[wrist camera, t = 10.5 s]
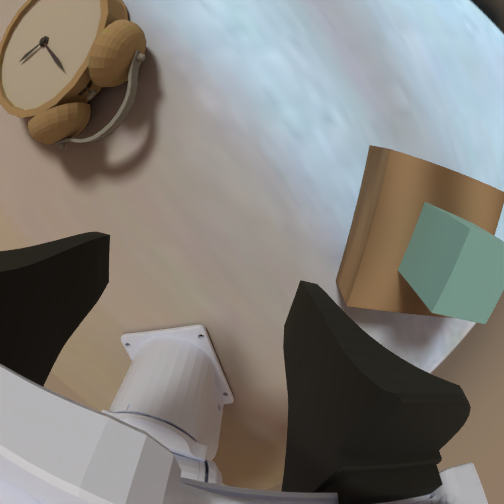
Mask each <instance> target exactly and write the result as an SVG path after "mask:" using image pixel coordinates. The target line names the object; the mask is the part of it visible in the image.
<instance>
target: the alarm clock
mask: <svg viewBox="0 0 504 504" xmlns="http://www.w3.org/2000/svg"><path fill="white" fill-rule="evenodd" d="M145 51H146V39H145V35H144V32H143V31H142V29H141V28H140V27H139V26H138V25H137V24H135V23H133V22H131V21H128V13H127V7H126V6H125V4H124V3H123V1H122V0H28V1H27V2H26V3H25V4H24V5H23V6H22V7H21V8H20V9H19V11H18V12H17V14H16V15H15V17H14V18H13V20H12V21H11V23H10V24H9V26H8V27H7V29H6V32H5V34H4V36H3V39H2V41H1V43H0V104H1V105H2V106H3V107H4V109H5V110H6V111H7V112H8V113H9V114H12V115H15V116H17V117H20V118H27V117H33V118H32V119H31V120H30V121H29V122H28V129H29V132H30V135H31V136H32V138H33V139H35V140H36V141H38V142H40V143H43V144H54V145H58V148H59V150H63V149H64V148H65V143H67V142H70V141H72V142H78V143H82V142H95V141H98V140H101V139H103V138H104V137H106V136H108V135H109V134H111V133H112V132H113V131H114V130H115V129H116V128H118V127H119V126H120V124H121V123H122V122H123V121H124V119H125V118H126V117H127V115H128V113H129V112H130V110H131V108H132V106H133V104H134V101H135V98H136V94H137V88H138V72H139V67H140V65H141V63H142V61H144V60H145V59H146V56H145ZM127 80H128V87H127V92H126V95H125V98H124V101H123V103H122V105H121V107H120V108H119V110H118V112H117V114H116V115H115V116H114V118H113V119H112V120H111V122H110V123H109V124H108V125H106V126H105V127H104V128H103V129H102V130H101V131H99V132H98V133H96V134H95V135H93V136H91V137H88V138H85V139H81V138H73V137H75V136H76V135H78V134H79V133H80V132H81V131H83V130H84V128H85V127H86V125H87V124H88V122H89V119H90V116H91V107H90V105H89V104H87V102H88V101H89V100H91V99H92V98H93V97H94V96H95V95H96V94H97V93H98V92H99V91H100V90H101V88H102V87H115V86H118V85H120V84H122V83H124V82H126V81H127Z"/></svg>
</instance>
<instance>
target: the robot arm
mask: <svg viewBox="0 0 504 504" xmlns="http://www.w3.org/2000/svg"><path fill="white" fill-rule="evenodd" d="M109 245H110V235H108V234H104V233H100V232H88V233H83V234H79V235H75V236H71V237H67V238H63V239H60V240H56V241H52V242H48V243H44V244H39V245H35V246H31V247H26V248H21V249H15V250H8V251H0V504H488V502H487V499H486V496H485V493H484V491H483V488H482V485H481V482H480V480H479V477H478V474H477V472H476V469H475V467H474V464H473V463H467V464H463V465H459V466H454V467H450V468H447V469H445V470H442V471H441V472H439V471H438V468H437V465H436V464H438V463H439V462H440V461H441V459H442V458H441V455H440V452H439V450H440V449H441V448H442V447H443V446H444V445H445V444H446V443H447V442H448V441H449V440H450V439H451V438H452V437H453V436H454V435H455V434H456V433H457V432H458V431H459V430H460V429H461V427H462V426H463V425H464V423H465V422H466V420H467V418H468V416H469V413H470V408H471V407H470V404H469V402H468V400H467V398H466V396H465V394H464V392H463V390H462V389H461V387H460V386H459V385H456V384H454V383H451V382H449V381H446V380H444V379H441V378H439V377H436V376H434V375H431V374H429V373H427V372H425V371H423V370H421V369H419V368H417V367H415V366H414V365H412V364H410V363H408V362H406V361H405V360H403V359H402V358H400V357H398V356H397V355H395V354H394V353H392V352H391V351H389V350H388V349H386V348H385V347H383V346H382V345H381V344H379V343H378V342H377V341H376V340H374V339H373V338H372V337H370V336H369V335H368V334H367V333H366V332H364V331H363V330H362V329H361V328H360V327H359V326H358V325H357V324H356V323H355V322H354V321H353V320H352V319H351V318H350V317H348V316H347V315H346V313H345V312H344V311H343V310H342V309H341V308H340V307H339V306H338V305H337V304H336V303H335V302H334V301H333V300H332V299H331V298H330V297H329V296H328V294H327V293H326V292H325V291H324V290H323V289H322V288H321V287H320V286H318V285H317V284H314V283H310V282H305V281H301V280H300V283H299V286H298V289H297V292H296V295H295V298H294V300H293V303H292V306H291V309H290V311H289V314H288V317H287V320H286V322H285V325H284V345H283V349H284V360H285V370H286V380H287V390H288V432H287V447H286V458H285V468H284V477H283V485H282V491H281V492H279V491H267V490H256V489H247V488H239V487H232V486H226V485H222V474H221V472H220V470H219V469H218V467H217V465H216V463H215V462H214V461H212V460H213V459H214V457H215V455H216V453H217V450H218V444H219V437H220V430H221V422H222V415H223V408H224V404H231V403H233V402H234V397H233V394H232V392H231V390H230V387H229V385H228V383H227V380H226V378H225V375H224V373H223V371H222V368H221V366H220V363H219V361H218V358H217V356H216V353H215V351H214V348H213V346H212V343H211V341H210V338H209V336H208V333H207V330H206V328H205V327H204V326H203V325H192V326H185V327H178V328H170V329H163V330H155V331H147V332H138V333H129V334H123V335H122V337H121V341H122V343H123V345H124V347H125V349H126V351H127V352H128V354H129V356H130V358H131V360H132V363H131V365H130V367H129V369H128V371H127V373H126V376H125V378H124V380H123V382H122V384H121V386H120V388H119V390H118V392H117V394H116V396H115V398H114V400H113V403H112V405H111V407H110V409H109V411H106V410H102V411H101V412H100V411H97V410H95V409H92V408H90V407H87V406H85V405H82V404H80V403H77V402H75V401H73V400H71V399H68V398H66V397H64V396H62V395H59V394H57V393H55V392H53V391H51V390H49V389H47V388H45V387H43V386H44V383H45V381H46V379H47V377H48V375H49V373H50V371H51V369H52V367H53V365H54V363H55V361H56V359H57V357H58V355H59V353H60V352H61V350H62V348H63V346H64V345H65V343H66V342H67V340H68V339H69V337H70V336H71V335H72V334H73V332H74V331H75V330H76V328H77V327H78V326H79V324H80V323H81V322H82V321H83V319H84V318H85V317H86V316H87V314H88V313H89V312H90V310H91V309H92V308H93V307H94V305H95V304H96V303H97V301H98V300H99V298H100V296H101V295H102V293H103V291H104V290H105V288H106V286H107V284H108V282H109ZM200 335H203V336H204V337H201V336H200ZM128 343H129V344H130V345H129V344H128ZM225 392H226V393H225Z"/></svg>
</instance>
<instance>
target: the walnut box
mask: <svg viewBox="0 0 504 504" xmlns="http://www.w3.org/2000/svg"><path fill="white" fill-rule="evenodd" d="M425 202H426V203H429V204H431V205H433V206H436V207H438V208H440V209H443V210H445V211H447V212H450V213H452V214H454V215H456V216H458V217H461V218H463V219H465V220H467V221H469V222H472V223H474V224H476V225H477V226H479V227H481V228H482V229H484V230H486V231H487V232H489V233H491V234H492V235H494V234H495V231H496V228H497V225H498V221H499V218H500V214H501V211H502V207H503V203H504V192H503V191H501V190H498V189H496V188H494V187H492V186H489V185H487V184H485V183H482V182H480V181H478V180H475V179H473V178H470V177H468V176H466V175H463V174H460V173H458V172H455V171H453V170H450V169H447V168H445V167H442V166H439V165H436V164H434V163H431V162H428V161H425V160H422V159H419V158H416V157H413V156H410V155H407V154H404V153H401V152H397V151H394V150H391V149H386V148H381V147H376V146H371V145H370V147H369V152H368V156H367V161H366V166H365V171H364V175H363V180H362V184H361V188H360V193H359V197H358V201H357V205H356V209H355V213H354V217H353V221H352V225H351V229H350V232H349V236H348V240H347V244H346V247H345V251H344V254H343V258H342V261H341V265H340V268H339V272H338V275H337V278H336V282H337V284H338V287H339V289H340V291H341V294H342V296H343V299H344V301H345V303H346V306H349V307H357V308H365V309H373V310H382V311H391V312H400V313H409V314H419V315H429V316H439V317H449V316H444V315H440V314H435V313H431V311H430V310H429V309H428V307H427V306H426V305H425V303H424V302H423V301H422V300H421V298H420V297H419V296H418V295H417V293H416V292H415V291H414V289H413V288H412V287H411V286H410V284H409V283H408V282H407V281H406V280H405V278H404V277H403V276H402V275H401V273H400V272H399V271H398V268H399V266H400V264H401V261H402V259H403V257H404V254H405V252H406V250H407V247H408V245H409V242H410V240H411V237H412V235H413V232H414V230H415V227H416V224H417V222H418V219H419V216H420V214H421V211H422V208H423V205H424V203H425ZM450 318H453V317H450Z"/></svg>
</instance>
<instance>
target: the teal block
mask: <svg viewBox="0 0 504 504" xmlns="http://www.w3.org/2000/svg"><path fill="white" fill-rule="evenodd" d="M398 271H399V272H400V273H401V275H402V276H403V277H404V278H405V280H406V281H407V282H408V283H409V284H410V286H411V287H412V288H413V289H414V291H415V292H416V293H417V295H418V296H419V297H420V298H421V300H422V301H423V302H424V303H425V305H426V306H427V307H428V309H429V310H430V311H431V313H435V314H440V315H444V316H449V317H453V318H458V319H463V320H468V321H472V322H477V323H482V324H486V322H487V320H488V318H489V317H490V315H491V313H492V311H493V309H494V307H495V305H496V304H497V302H498V300H499V298H500V296H501V294H502V292H503V290H504V242H503V241H502V240H500V239H499V238H497V237H495V236H494V235H492V234H491V233H489V232H487V231H486V230H484V229H482V228H481V227H479V226H477V225H476V224H474V223H472V222H469V221H467V220H465V219H463V218H461V217H458V216H456V215H454V214H452V213H450V212H447V211H445V210H443V209H440V208H438V207H436V206H433V205H431V204H429V203H426V202H425V203H424V205H423V208H422V211H421V214H420V216H419V219H418V222H417V224H416V227H415V230H414V232H413V235H412V237H411V240H410V242H409V245H408V247H407V250H406V252H405V254H404V257H403V259H402V261H401V264H400V266H399V268H398Z"/></svg>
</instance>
